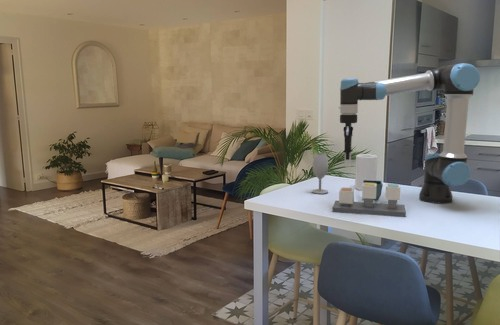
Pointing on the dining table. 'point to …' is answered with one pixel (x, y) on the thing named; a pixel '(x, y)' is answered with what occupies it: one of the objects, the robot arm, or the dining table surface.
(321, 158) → the wineglass
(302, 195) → the dining table surface
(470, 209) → the dining table surface
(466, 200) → the dining table surface
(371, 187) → the key mustard
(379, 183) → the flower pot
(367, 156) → the cup
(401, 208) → the keypad
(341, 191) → the key terracotta
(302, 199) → the dining table surface
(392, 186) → the key teal
